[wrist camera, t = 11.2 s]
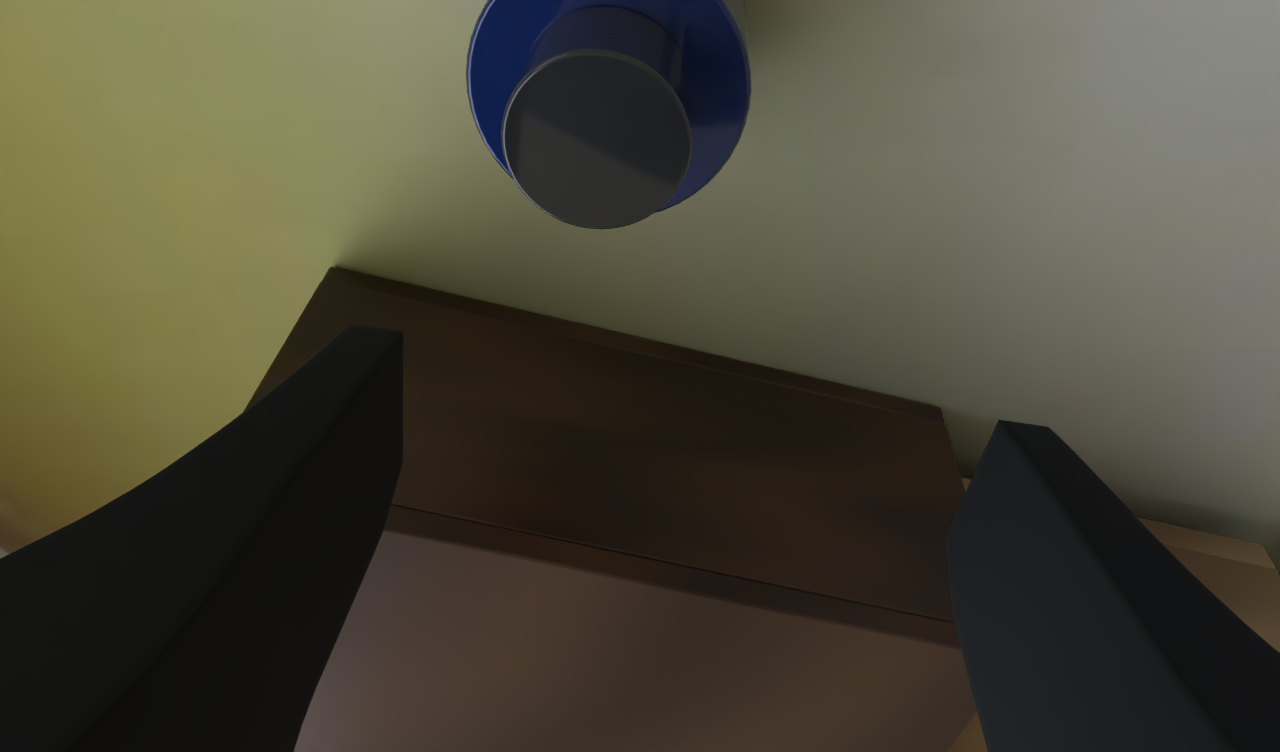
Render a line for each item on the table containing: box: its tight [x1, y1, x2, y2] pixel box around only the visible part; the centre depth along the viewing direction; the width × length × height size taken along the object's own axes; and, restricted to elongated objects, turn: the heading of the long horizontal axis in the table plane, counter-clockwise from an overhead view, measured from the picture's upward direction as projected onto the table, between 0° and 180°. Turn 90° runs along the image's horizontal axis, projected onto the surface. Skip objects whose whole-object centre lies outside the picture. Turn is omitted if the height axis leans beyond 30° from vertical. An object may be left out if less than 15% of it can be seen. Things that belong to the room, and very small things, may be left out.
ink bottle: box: [466, 0, 751, 229], centre depth 16 cm, size 4×4×7 cm
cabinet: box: [244, 267, 977, 752], centre depth 24 cm, size 14×13×7 cm
